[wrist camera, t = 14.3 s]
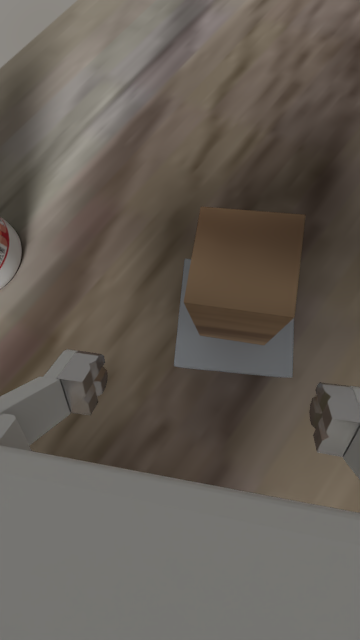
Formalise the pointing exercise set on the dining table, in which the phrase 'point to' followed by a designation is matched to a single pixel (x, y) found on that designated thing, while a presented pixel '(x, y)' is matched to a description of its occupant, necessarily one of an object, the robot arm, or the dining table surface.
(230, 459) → the dining table surface
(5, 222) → the fruit juice
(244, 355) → the slate grey base block
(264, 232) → the walnut block
